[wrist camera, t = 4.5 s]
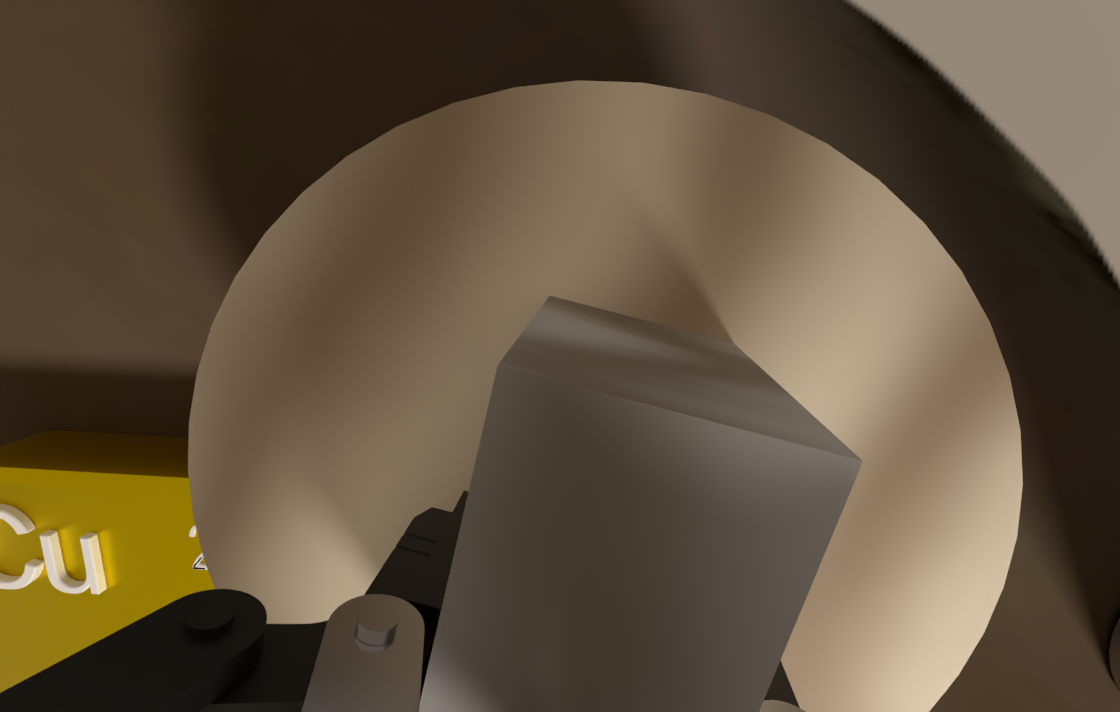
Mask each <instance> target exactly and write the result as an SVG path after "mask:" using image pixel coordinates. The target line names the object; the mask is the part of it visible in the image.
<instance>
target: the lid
mask: <svg viewBox="0 0 1120 712" xmlns="http://www.w3.org/2000/svg"><path fill="white" fill-rule="evenodd" d="M188 475H189V484H190V492H191V501H192V510H193V518H194V522H195V526H196V530H197V534H198V538H199V542H200V546H201V550H202V554H203V558H204V562H205V564H206V567H207V569H208V572H209V574H210V577H211V580H212V582H213V585H214V587H215V589H233V590H238V591H242V592H245V593H248V594H250V595H252V596H254V597H256V598H257V599H258V600H259V601H260V602H261V603H262V604H263V605H264V607H265V609H266V613H267V622H266V624H311V623H318V622H323V621H327V620H329V617H330V616H331V614H332V613H333V612H334V611H335V610H336V609H337V608H338V607H339V606H340V605H342V604H343V603H344V602H346V601H348V600H350V599H353V598H356V597H359V596H363V595H364V594H365V593H366V591H367V590H368V588H369V586H370V585H371V583H372V582H373V580H374V579H375V577H376V576H377V574H378V573H379V571H380V569H381V568H382V566H383V565H384V563H385V562H386V560H387V559H388V557H389V555H390V554H391V552H392V551H393V549H395V547H396V545H397V543H398V542H399V540H400V538H401V537H402V536H403V535H404V532H405V531H406V529H407V528H408V526H409V524H410V523H411V521H412V520H413V518H414V517H416V516H417V515H419V514H421V513H423V512H424V511H426V510H428V509H430V508H431V507H434V508H438V509H442V510H445V511H449V512H453V510H454V508H455V506H456V504H457V503H458V501H459V499H460V497H461V495H462V493H463V491H464V490H466V491H468V496H467V500H466V504H465V509H464V513H463V517H462V522H461V526H460V530H459V535H458V539H457V543H456V548H455V552H454V557H453V561H452V565H451V570H450V574H449V578H448V583H447V587H446V591H445V596H444V600H443V604H442V609H441V613H440V617H439V622H438V626H437V630H436V635H435V639H434V643H433V648H432V652H431V656H430V661H429V665H428V669H427V674H426V678H425V682H424V687H423V691H422V695H421V700H420V706H419V712H759V711H760V708H761V706H762V703H763V701H764V699H765V696H766V694H767V691H768V689H769V687H770V684H771V682H772V679H773V677H774V675H775V672H776V670H777V667H778V665H779V663H780V660H781V662H782V665H783V667H784V670H785V672H786V675H787V677H788V680H789V682H790V685H791V687H792V690H793V692H794V694H795V697H796V699H797V702H798V704H799V707H800V709H802V710H804V711H806V712H929V711H930V710H931V709H932V707H933V706H934V705H935V704H936V702H937V701H938V700H939V699H940V697H941V696H942V695H943V694H944V693H945V691H946V690H947V689H948V688H949V686H950V685H951V684H952V683H953V681H954V680H955V679H956V678H957V676H958V675H959V673H960V672H961V670H962V668H963V667H964V665H965V663H966V662H967V660H968V658H969V657H970V655H971V654H972V652H973V650H974V649H975V647H976V645H977V644H978V642H979V640H980V639H981V637H982V635H983V634H984V632H985V629H986V627H987V625H988V622H989V620H990V618H991V615H992V613H993V611H994V608H995V606H996V604H997V601H998V599H999V597H1000V594H1001V592H1002V590H1003V587H1004V584H1005V580H1006V576H1007V573H1008V569H1009V565H1010V561H1011V558H1012V554H1013V550H1014V546H1015V543H1016V539H1017V532H1018V523H1019V514H1020V505H1021V496H1022V487H1023V477H1022V453H1021V430H1020V425H1019V420H1018V415H1017V410H1016V405H1015V400H1014V395H1013V390H1012V385H1011V380H1010V376H1009V373H1008V370H1007V367H1006V365H1005V362H1004V359H1003V357H1002V354H1001V351H1000V348H999V346H998V343H997V340H996V337H995V335H994V332H993V329H992V327H991V324H990V322H989V320H988V318H987V316H986V314H985V313H984V311H983V309H982V307H981V305H980V304H979V302H978V300H977V298H976V296H975V295H974V293H973V291H972V289H971V287H970V286H969V284H968V282H967V280H966V278H965V277H964V275H963V273H962V271H961V270H960V268H959V267H958V266H957V265H956V263H955V262H954V261H953V259H952V258H951V257H950V256H949V254H948V253H947V252H946V250H945V249H944V248H943V247H942V245H941V244H940V243H939V241H938V240H937V239H936V238H935V236H934V235H933V234H932V232H931V231H930V230H929V229H928V227H927V226H926V225H925V223H924V222H923V221H922V220H921V219H920V218H918V217H917V216H916V215H915V214H914V213H913V212H912V211H911V210H910V209H909V208H908V207H907V206H906V205H905V204H904V203H903V202H902V201H901V200H900V199H898V198H897V197H896V196H895V195H894V194H893V193H892V192H891V191H890V190H889V189H888V188H887V187H886V186H885V185H884V184H883V183H882V182H881V181H879V180H878V179H877V178H875V177H874V176H873V175H871V174H870V173H868V172H867V171H865V170H864V169H863V168H861V167H860V166H858V165H857V164H855V163H854V162H853V161H851V160H850V159H848V158H847V157H845V156H844V155H843V154H841V153H840V152H838V151H837V150H835V149H834V148H833V147H831V146H830V145H828V144H827V143H825V142H823V141H821V140H819V139H817V138H815V137H813V136H811V135H809V134H807V133H805V132H803V131H801V130H799V129H797V128H795V127H793V126H791V125H789V124H787V123H785V122H783V121H781V120H779V119H777V118H775V117H773V116H771V115H769V114H766V113H763V112H760V111H757V110H754V109H751V108H748V107H745V106H742V105H739V104H736V103H733V102H730V101H727V100H723V99H720V98H717V97H714V96H711V95H708V94H704V93H698V92H692V91H687V90H681V89H676V88H670V87H665V86H659V85H653V84H648V83H638V82H609V81H581V80H578V81H568V82H559V83H550V84H540V85H531V86H522V87H514V88H510V89H506V90H502V91H498V92H494V93H490V94H486V95H482V96H479V97H475V98H471V99H467V100H463V101H459V102H455V103H452V104H450V105H447V106H445V107H443V108H440V109H438V110H435V111H433V112H430V113H428V114H426V115H423V116H421V117H418V118H416V119H414V120H411V121H409V122H406V123H404V124H402V125H399V126H397V127H395V128H394V129H392V130H390V131H389V132H387V133H385V134H384V135H382V136H380V137H379V138H377V139H375V140H373V141H372V142H370V143H368V144H367V145H365V146H363V147H362V148H360V149H358V150H357V151H355V152H353V153H352V154H350V155H348V156H347V157H345V158H344V159H343V160H342V161H340V162H339V163H338V164H337V165H336V166H334V167H333V168H332V169H331V170H329V171H328V172H327V173H326V174H324V175H323V176H322V177H321V178H320V179H318V180H317V181H316V182H315V183H313V184H312V185H311V186H310V187H308V188H307V189H306V190H305V191H304V192H302V193H301V194H300V196H299V197H298V198H297V199H296V200H295V201H294V202H293V203H292V204H291V205H290V206H289V208H288V209H287V210H286V211H285V212H284V213H283V214H282V215H281V216H280V217H279V218H278V220H277V221H276V222H275V223H274V224H273V225H272V226H271V227H270V228H269V229H268V230H267V232H266V233H265V234H264V235H263V237H262V238H261V240H260V241H259V243H258V244H257V246H256V247H255V249H254V250H253V252H252V253H251V254H250V256H249V257H248V259H247V260H246V262H245V263H244V265H243V266H242V268H241V269H240V271H239V272H238V274H237V275H236V277H235V278H234V280H233V282H232V284H231V286H230V289H229V291H228V293H227V295H226V297H225V299H224V301H223V303H222V305H221V307H220V309H219V311H218V313H217V315H216V318H215V320H214V322H213V324H212V326H211V330H210V333H209V336H208V339H207V342H206V346H205V349H204V352H203V355H202V358H201V361H200V365H199V368H198V371H197V375H196V382H195V388H194V394H193V400H192V406H191V412H190V418H189V443H188Z"/></svg>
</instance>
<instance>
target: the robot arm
mask: <svg viewBox="0 0 1120 712" xmlns="http://www.w3.org/2000/svg"><path fill="white" fill-rule="evenodd" d="M467 496H468V491H466V490H464V491H463V493H462V495H461V497H460V499H459V501H458V503H457V504H456V506H455V508H454V510H453V512H449V511H445V510H442V509H438V508H434V507H431V508H430V509H428V510H426V511H424V512H423V513H421V514H419V515H417V516H416V517H414V518H413V520H412V521H411V523H410V524H409V526H408V528H407V529H406V531H405V532H404V535H403V536H402V537H401V538H400V540H399V542H398V543H397V545H396V547H395V549H393V551H392V552H391V554H390V555H389V557H388V559H387V560H386V562H385V563H384V565H383V566H382V568H381V569H380V571H379V573H378V574H377V576H376V577H375V579H374V580H373V582H372V583H371V585H370V586H369V588H368V590H367V591H366V593H365V594H364V595H363V596H359V597H356V598H353V599H350V600H348V601H346V602H344V603H343V604H342V605H340V606H339V607H338V608H337V609H336V610H335V611H334V612H333V613H332V614H331V616H330V617H329V620H327V621H323V622H318V623H311V624H266V622H267V613H266V609H265V607H264V605H263V604H262V603H261V602H260V601H259V600H258V599H257V598H256V597H254V596H252V595H250V594H248V593H245V592H242V591H238V590H233V589H211V590H204V591H200V592H196V593H192V594H189V595H186V596H184V597H182V598H179V599H177V600H175V601H173V602H171V603H169V604H167V605H166V606H164V607H162V608H160V609H158V610H156V611H154V612H152V613H150V614H149V615H147V616H145V617H143V618H141V619H139V620H137V621H135V622H133V623H131V624H130V625H128V626H126V627H124V628H122V629H120V630H118V631H116V632H114V633H112V634H111V635H109V636H107V637H105V638H103V639H101V640H99V641H97V642H95V643H94V644H92V645H90V646H88V647H86V648H84V649H82V650H80V651H78V652H76V653H75V654H73V655H71V656H69V657H67V658H65V659H63V660H61V661H59V662H58V663H56V664H54V665H52V666H50V667H48V668H46V669H44V670H42V671H40V672H39V673H37V674H35V675H33V676H31V677H29V678H27V679H25V680H23V681H21V682H20V683H18V684H16V685H14V686H12V687H10V688H8V689H6V690H4V691H3V692H1V693H0V712H419V706H420V700H421V695H422V691H423V687H424V682H425V678H426V674H427V669H428V665H429V661H430V656H431V652H432V648H433V643H434V639H435V635H436V630H437V626H438V622H439V617H440V613H441V609H442V604H443V600H444V596H445V591H446V587H447V583H448V578H449V574H450V570H451V565H452V561H453V557H454V552H455V548H456V543H457V539H458V535H459V530H460V526H461V522H462V517H463V513H464V509H465V504H466V500H467ZM1109 658H1110V669H1111V672H1112V675H1113V677H1114V680H1115V683H1116V685H1117V687H1118V688H1119V689H1120V618H1119V620H1118V622H1117V624H1116V626H1115V628H1114V631H1113V633H1112V638H1111V644H1110V649H1109ZM759 712H806V711H804V710H802V709H800V707H799V704H798V702H797V699H796V697H795V694H794V692H793V690H792V687H791V685H790V682H789V680H788V677H787V675H786V672H785V670H784V667H783V665H782V662H781V660H780V663H779V665H778V667H777V670H776V672H775V675H774V677H773V679H772V682H771V684H770V687H769V689H768V691H767V694H766V696H765V699H764V701H763V703H762V706H761V708H760V711H759Z"/></svg>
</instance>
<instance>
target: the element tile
mask: <svg viewBox="0 0 1120 712" xmlns="http://www.w3.org/2000/svg"><path fill="white" fill-rule="evenodd" d="M188 443H189V437H172V436H154V435H135V434H117V433H99V432H81V431H62V430H51V431H41V432H38V433H35V434H33V435H30V436H27V437H25V438H22V439H19V440H17V441H14V442H12V443H9V444H6V445H4V446H1V447H0V693H1V692H3V691H4V690H6V689H8V688H10V687H12V686H14V685H16V684H18V683H20V682H21V681H23V680H25V679H27V678H29V677H31V676H33V675H35V674H37V673H39V672H40V671H42V670H44V669H46V668H48V667H50V666H52V665H54V664H56V663H58V662H59V661H61V660H63V659H65V658H67V657H69V656H71V655H73V654H75V653H76V652H78V651H80V650H82V649H84V648H86V647H88V646H90V645H92V644H94V643H95V642H97V641H99V640H101V639H103V638H105V637H107V636H109V635H111V634H112V633H114V632H116V631H118V630H120V629H122V628H124V627H126V626H128V625H130V624H131V623H133V622H135V621H137V620H139V619H141V618H143V617H145V616H147V615H149V614H150V613H152V612H154V611H156V610H158V609H160V608H162V607H164V606H166V605H167V604H169V603H171V602H173V601H175V600H177V599H179V598H182V597H184V596H186V595H189V594H192V593H196V592H200V591H204V590H211V589H215V587H214V585H213V582H212V580H211V577H210V574H209V572H208V569H207V567H206V564H205V562H204V558H203V554H202V550H201V546H200V542H199V538H198V534H197V530H196V526H195V522H194V518H193V510H192V501H191V492H190V484H189V475H188Z"/></svg>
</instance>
